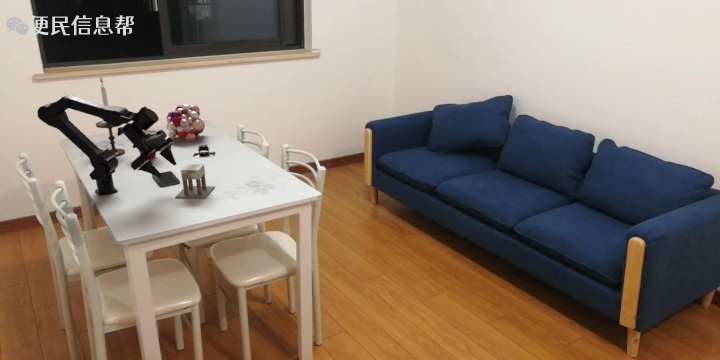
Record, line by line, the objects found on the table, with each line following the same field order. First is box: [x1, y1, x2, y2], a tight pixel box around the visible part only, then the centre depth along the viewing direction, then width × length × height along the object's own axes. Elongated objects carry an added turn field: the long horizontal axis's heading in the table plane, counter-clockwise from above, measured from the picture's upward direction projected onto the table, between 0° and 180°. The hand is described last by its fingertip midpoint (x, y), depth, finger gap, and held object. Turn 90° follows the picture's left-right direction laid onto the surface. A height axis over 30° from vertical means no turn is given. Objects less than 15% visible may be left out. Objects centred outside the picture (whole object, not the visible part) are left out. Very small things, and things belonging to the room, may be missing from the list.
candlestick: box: [95, 76, 126, 157], centre depth 249 cm, size 11×11×35 cm
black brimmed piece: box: [192, 144, 216, 158], centre depth 251 cm, size 12×7×5 cm, turn 99°
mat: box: [175, 185, 216, 200], centre depth 208 cm, size 11×11×1 cm
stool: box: [180, 163, 207, 195], centre depth 206 cm, size 6×6×10 cm
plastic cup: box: [138, 129, 158, 160], centre depth 247 cm, size 11×11×12 cm
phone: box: [151, 170, 181, 188], centre depth 222 cm, size 8×1×15 cm
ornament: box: [166, 103, 206, 143], centre depth 274 cm, size 18×19×20 cm
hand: (168, 170), depth 205 cm, fingers open, 9 cm apart
